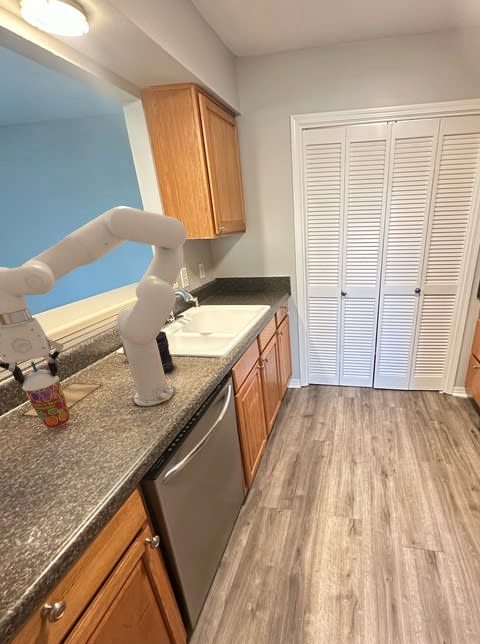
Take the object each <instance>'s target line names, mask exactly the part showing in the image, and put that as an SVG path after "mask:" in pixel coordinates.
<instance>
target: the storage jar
mask: <svg viewBox="0 0 480 644" xmlns="http://www.w3.org/2000/svg"><path fill="white" fill-rule="evenodd" d="M156 341H157V345H158V349H159V354H160V358H161V362H162V366H163V370H164V374H165V375H167V374H169V373H171V372H173V370H174V363H173V356H172V354H171V353H170V344H169V340H168V337H167V333H166V332H165V331H162V330H161V331H160V333H159V334H158V336H157V337H156Z"/></svg>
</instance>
